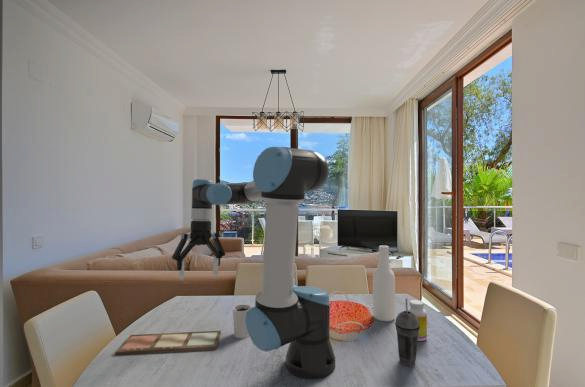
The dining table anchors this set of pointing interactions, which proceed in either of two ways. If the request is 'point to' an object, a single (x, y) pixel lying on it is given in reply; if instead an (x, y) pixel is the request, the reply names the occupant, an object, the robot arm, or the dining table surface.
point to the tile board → (170, 342)
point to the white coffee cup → (240, 320)
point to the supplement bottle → (419, 318)
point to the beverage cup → (407, 336)
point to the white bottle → (383, 288)
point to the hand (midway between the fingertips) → (198, 277)
